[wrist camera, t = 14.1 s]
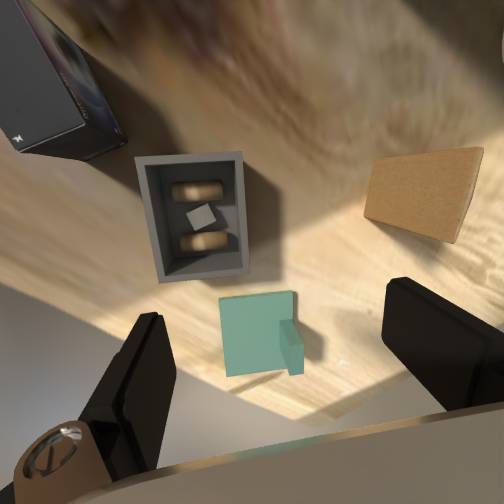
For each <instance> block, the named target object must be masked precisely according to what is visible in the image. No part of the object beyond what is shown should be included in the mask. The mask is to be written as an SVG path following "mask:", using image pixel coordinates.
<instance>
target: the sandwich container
mask: <svg viewBox="0 0 504 504" xmlns="http://www.w3.org/2000/svg"><path fill="white" fill-rule="evenodd" d="M483 153H484V148H482V147H470V148H461V149H453V150H446V151H438V152H430V153H422V154H414V155H406V156H398V157H390V158H382V159H375V160H374V162H373V168H372V173H371V178H370V183H369V189H368V194H367V200H366V205H365V210H364V217H366V218H369V219H372V220H376V221H379V222H382V223H385V224H389V225H392V226H395V227H398V228H402V229H405V230H408V231H411V232H415V233H418V234H421V235H424V236H428V237H431V238H434V239H437V240H441V241H444V242H447V243H451V244H454V243H455V242H456V240H457V237H458V234H459V232H460V229H461V226H462V224H463V221H464V218H465V216H466V213H467V211H468V208H469V205H470V203H471V200H472V197H473V193H474V189H475V185H476V181H477V177H478V173H479V169H480V165H481V161H482V157H483Z"/></svg>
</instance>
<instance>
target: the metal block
mask: <svg viewBox="0 0 504 504" xmlns="http://www.w3.org/2000/svg"><path fill="white" fill-rule="evenodd" d="M186 215H187V217H188V219H189V221H190V222H191V224H192V226H193V228H194V230H198V229H200V228H202V227H204V226H206V225H209V224H211V223H213V222H215V221H216V217H215V214H214V212H213V210H212V208H211V206H210V204H209V202H207V203H205V204H203V205H201V206H198V207H196V208H194V209H192V210H190V211H188V212H187V213H186Z"/></svg>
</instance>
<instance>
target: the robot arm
mask: <svg viewBox="0 0 504 504" xmlns="http://www.w3.org/2000/svg"><path fill="white" fill-rule="evenodd" d="M381 337H382V340H383V342H384V344H385V345H386V346H387V347H388V348H389V349H390V350H391V351H392V352H393V354H394V355H395V356H396V357H397V358H398V359H399V360H400V361H401V362H402V363H403V364H404V365H405V366H406V368H407V369H408V370H409V371H410V372H411V373H412V374H413V375H414V376H415V377H416V378H417V379H418V380H419V382H421V384H422V385H423V386H424V387H425V388H426V389H427V390H428V391H429V392H430V393H431V394H432V395H433V396H434V398H435V399H436V400H437V401H438V402H439V403H440V404H441V405H442V406H443V407H444V408H445V409H446V410H447V412H443V413H438V414H431V415H426V416H421V417H416V418H410V419H404V420H399V421H394V422H389V423H384V424H378V425H373V426H367V427H362V428H357V429H352V430H347V431H341V432H336V433H331V434H326V435H321V436H315V437H310V438H305V439H300V440H295V441H290V442H285V443H279V444H274V445H269V446H264V447H259V448H255V449H249V450H244V451H239V452H234V453H229V454H224V455H219V456H214V457H210V458H205V459H200V460H196V461H191V462H187V463H182V464H177V465H173V466H168V467H163V468H159V469H156V467H157V463H158V458H159V454H160V449H161V445H162V440H163V435H164V431H165V426H166V421H167V417H168V412H169V408H170V403H171V398H172V394H173V390H174V385H175V380H176V365H175V361H174V357H173V353H172V349H171V345H170V341H169V337H168V333H167V329H166V325H165V321H164V318H163V315H158V313H157V312H151V313H144V314H140V316H139V317H138V319H137V321H136V323H135V325H134V326H133V328H132V330H131V332H130V334H129V335H128V337H127V339H126V341H125V342H124V344H123V346H122V348H121V350H120V352H118V353H117V354H116V355H115V356H114V357H113V360H112V361H111V363H110V364H109V366H108V368H107V370H106V371H105V373H104V375H103V377H102V378H101V380H100V382H99V384H98V385H97V387H96V389H95V391H94V392H93V394H92V396H91V398H90V399H89V401H88V403H87V405H86V406H85V408H84V410H83V411H82V413H81V415H80V417H79V418H78V420H77V421H68V422H66V423H63V424H60V425H58V426H56V427H54V428H53V429H50V430H49V431H48V432H46V433H45V434H43V435H42V436H41V437H39V438H38V439H37V440H36V441H35V442H34V443H33V444H32V445H31V446H30V447H29V448H28V449H27V450H26V451H25V453H24V454H23V455H22V457H21V458H20V459H19V461H18V464H17V466H16V468H15V470H14V477H13V482H11V483H10V484H9V485H7V486H6V487H5V488H3V489H2V490H1V491H0V504H504V333H503V332H501V331H499V330H498V329H496V328H494V327H493V326H491V325H489V324H487V323H486V322H484V321H482V320H481V319H479V318H477V317H475V316H474V315H472V314H470V313H469V312H467V311H465V310H463V309H462V308H460V307H458V306H457V305H455V304H453V303H451V302H450V301H448V300H446V299H445V298H443V297H441V296H439V295H438V294H436V293H434V292H433V291H431V290H429V289H427V288H426V287H424V286H422V285H421V284H419V283H417V282H415V281H414V280H412V279H410V278H408V277H400V278H393V279H391V280H390V282H389V283H388V284H387V287H386V296H385V305H384V315H383V324H382V333H381Z"/></svg>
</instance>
